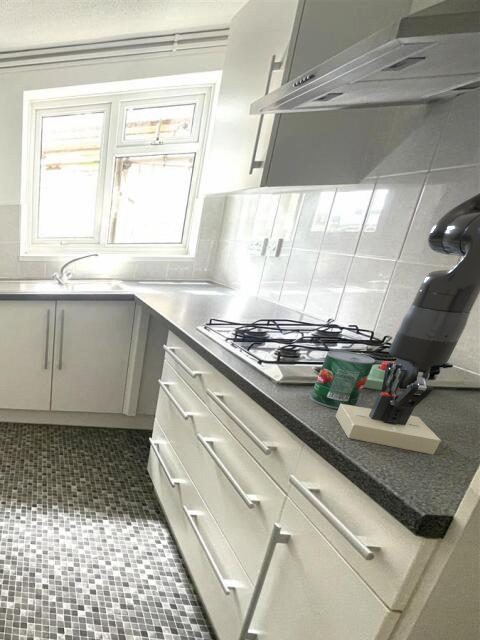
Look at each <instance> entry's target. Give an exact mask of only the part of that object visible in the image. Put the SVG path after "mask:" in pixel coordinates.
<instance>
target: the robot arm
mask: <svg viewBox="0 0 480 640" xmlns="http://www.w3.org/2000/svg"><path fill="white" fill-rule="evenodd" d="M427 245H428V247H429V248H430V249H431V251H433V252H435V253H438V254H442V255H449V256H458V257H462V258H461V260H460V261H459V262H457V264H456V265H454V267H453V268H451V269H443V270H435V271H431V272H428V273H427V274H426V275H425V276H424V278H423V279H422V281H421V282H420V284H419V287H418V289H417V291H416V293H415V295H414V298H413V300H412V302H411V305H410V306H409V308H408V310H406V313H405V314H404V316H403V318H402V320H401V321H400V325H399V327H398V329H397V331H396V333H395V336H394V337H393V340H392V343H391V344H390V346H389V350H388V354H389V355H390V356H392V357H393V358H396V360H395V363H391V362H392V361H387V362H388V363H387V364H386V369H385V375H384V380H383V385H382V390H381V392H386V393H389V394H391V395H392V397H391V399H390V401H389V404H388V406H387V408H386V410H385V413H384V415H383V417H382V421H383V422H384V423H388V424H393V425H396V424H398V422H399V420H400V418H401V416H402V414H403V412H404V410H405V408H414V409H415V408H417V406H418V405H419V404H420V403H421V402H422V401H423V400H424V399H425V398H427V397H428V395H429V394H430V393H432V391H433V386H432V385H427V384H426V383H427V382H428V380H429V377H430V372H431V368H432V367H434V366H443V365H445V364H447V363H448V362H449V360H450V359H451V356H452V354H453V352H454V350H455V349H456V346H457V344H458V343H459V341H460V339H461V336H462V334H463V332H464V330H465V329H466V327H467V324H468V321H469V317H470V314H471V312H472V311H473V308H474V306H475V305H476V302H477V301H478V298H479V296H480V192H479V193H478V194H475V195H473V196H472V197H470V198H468V199H467V200H465V201H463V202H461V203H459V204H458V205H456V206H454V207H453V208H451V209H450V210H449V211H447V212H445V213H444V214H443V215H442V216H441V217H440V218H438V219H437V221H436V222H435V223H434V224H433V225H432V227H431V228H430V231H429V232H428V234H427Z"/></svg>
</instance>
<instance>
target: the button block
mask: <svg viewBox="0 0 480 640" xmlns="http://www.w3.org/2000/svg"><path fill="white" fill-rule="evenodd" d="M381 364H382V363H380V364H377V363H376V364H373V366H372V369H371V371H370V373H369V375H368V378H367V380H366V382H365V384H364V387H363V389H364V388H366V389H371V390H377V391H378V390H379V391H382V385H383V380H384V375H385V371H384V370H382V369H380V366H381Z"/></svg>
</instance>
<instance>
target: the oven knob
mask: <svg viewBox="0 0 480 640" xmlns="http://www.w3.org/2000/svg"><path fill="white" fill-rule="evenodd" d="M391 397H392V395H391V394H389V393H386V392H382V391H381V392H379V393H378V394H377V397H376V398H375V401H374V403H373V405H372V408H371V409H372V410H371V412H370V414H369V416H370V418H371V419H375V420H381V421H382V417H383V415H384V413H385V410H386V408H387V406H388V404H389V401H390V399H391ZM414 410H415V408H405V410H404V412H403V414H402V416H401V418H400V420H399V422H398V424H403V425H406V423H407V421H408V419H409V417H410V416H412V413H413V411H414Z"/></svg>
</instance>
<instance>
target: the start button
mask: <svg viewBox="0 0 480 640" xmlns="http://www.w3.org/2000/svg"><path fill="white" fill-rule="evenodd" d="M388 362H389V361H382V362H381V363H380V364H381V366H380V369H382V370H384V371H385V369H386V364H387V363H388ZM390 362H391V363H395V362H396V361H395V362H394V361H390Z"/></svg>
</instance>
